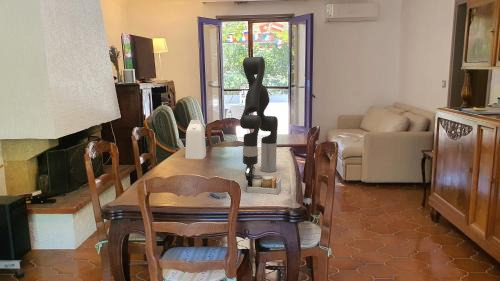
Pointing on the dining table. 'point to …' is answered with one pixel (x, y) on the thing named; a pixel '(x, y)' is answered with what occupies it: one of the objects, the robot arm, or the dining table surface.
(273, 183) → the pusher
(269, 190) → the grey tray
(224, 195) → the medicine box
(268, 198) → the dining table surface
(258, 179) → the cream jar
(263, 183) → the brown jar
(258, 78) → the robot arm
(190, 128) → the milk
